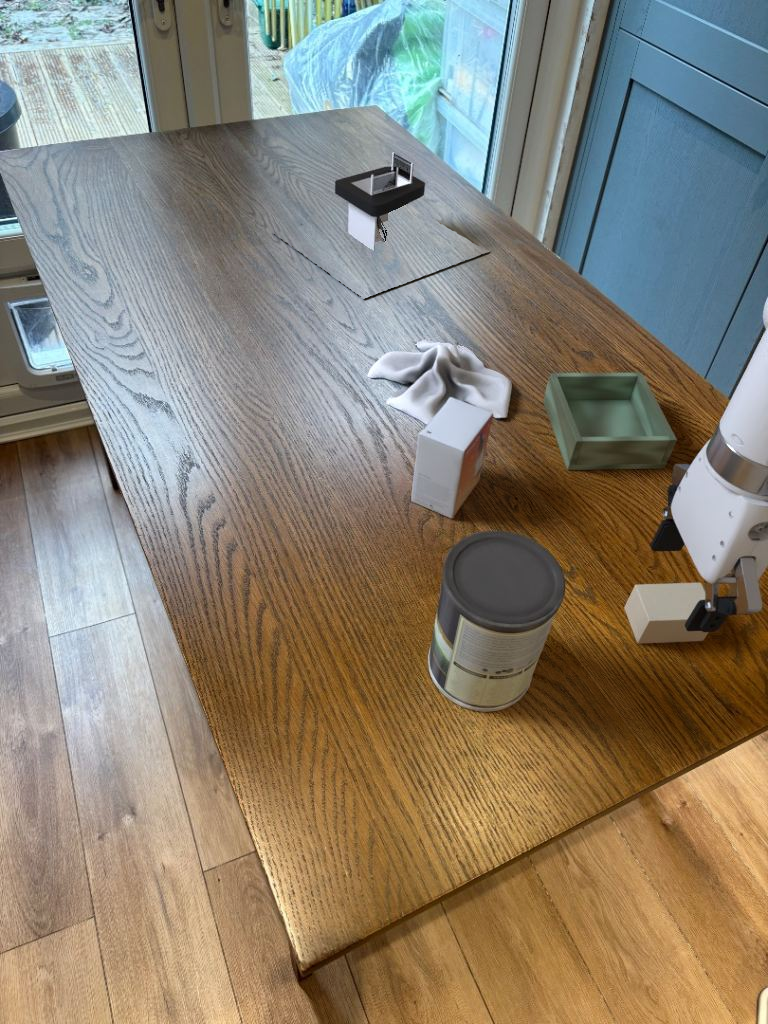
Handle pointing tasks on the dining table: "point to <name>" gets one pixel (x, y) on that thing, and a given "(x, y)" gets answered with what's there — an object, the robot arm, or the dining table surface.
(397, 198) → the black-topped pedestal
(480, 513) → the dining table surface
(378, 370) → the cloth
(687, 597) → the cream rectangular block
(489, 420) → the small box
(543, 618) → the coffee can
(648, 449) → the holder
